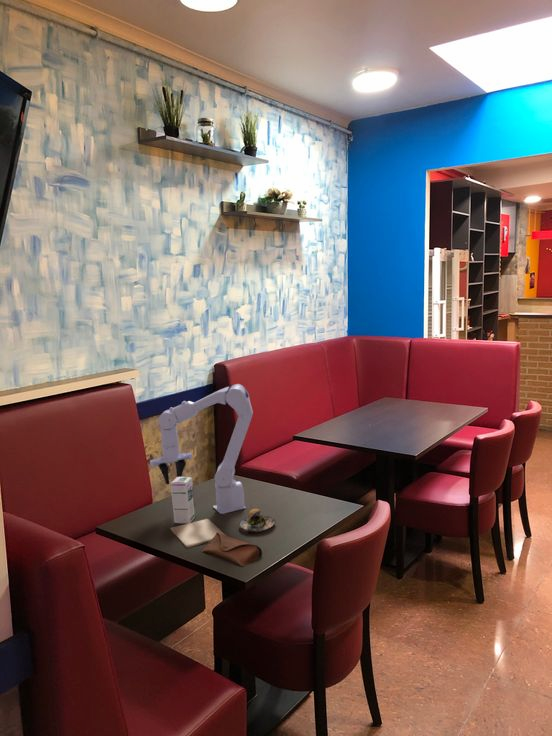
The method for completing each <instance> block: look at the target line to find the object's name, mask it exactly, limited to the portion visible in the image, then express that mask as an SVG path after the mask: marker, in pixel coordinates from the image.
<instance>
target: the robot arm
mask: <svg viewBox="0 0 552 736" xmlns="http://www.w3.org/2000/svg"><path fill="white" fill-rule="evenodd" d="M216 404H221V405H226V404H228V405H229V406H230V407H231V408H232V409H234V411H235V413H236V414H237V416H238V417H237V420H236V422H235V425H234V428H233V432H232V434H231V437H230V440H229V443H228V445H227V449H226V452H225V455H224V456H223V460H222V462H221V463H220V464H219V465H218V467H217V470H216V473H215V474H214V478H213V479H214V480H213V481H214V482H215V483H214V486H215V499H216V504H215V505H213V506H212V508H213V509H214V510H216V511H217V512H218V513H219V514H220V515H224V514H228V513H232V512H235V511H240V510H243V509H246V508H247V507H246V506H245V492H244V486H243V483H242V482H241V481H237V480H236V479H234V475H235V473H236V469H235V466H236V464H237V460H238V458H239V455H240V452H241V450H242V449H241V448H242V446H243V444H244V440H245V438H246V436H247V435H246V434H247V432H248V430H249V427H250V423H251V422H252V418H253V414H254V411H253V407H252V404H251V399H250V394H249V392H248V391H247V389H246V388H245V386H244V385H242V384H240V383H236V384H232V385H231V386H226V387H224V388H221V389H219V390H217V391H214V392H213V393H211V394H208V395H206V396H205V397H203V398H201V399H199V400H197V401H195V402H194V401H191V400H188V401H186V400H183V401H182V402H181V404H178V405H177V406H174V407H172V406H171V407H169V409H166V410H164V411H163V412H162V413H161V415H160V416H159V417H158V420H157V421H158V422H157V423H158V426H159V427H160V438H161V439H160V440H161V450H162V451H161V452H162V456H161V457H158V458H154V459H150V460H149V463H150V467H152V468H154V467H156V466H157V467H158V468H159V470H160V472H161V474H162V476H163V478H164V482H165V484H166V485H170V477H169V466H168V464H172V463H174V464H175V469H176V470H175V471H176V477H183V473H184V470H185V467H186V464H187V460H193V454H192V453H191V452H186V453H185V452H184V453H180V447H179V446H180V444H179V434H178V427H177V426H178V425H177V424H181V423H183V422H185V421H188V420H190V419H192V418H194V417H196V416H197V415H198V412H199V411H201V410H204V409H206V408H209V407H211V406H213V405H216Z"/></svg>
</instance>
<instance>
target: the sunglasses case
mask: <svg viewBox="0 0 552 736" xmlns="http://www.w3.org/2000/svg"><path fill="white" fill-rule="evenodd" d="M200 552H201V553H203V554H204V553H205V554H207V555H208V554H209V555H212V556H214V557H217V558H220V559H222V560H226V561H229V562H231V563H233V564H235V565H238V566H240V567H245V566H246V565H248V564H250V563H252V562H253V561H255V560H257V559H258V558H260V557H262V556H263V551H262V549H261V547H260V546H258V545H257V544H253V543H252V544H251V543H249V542H245V541H242V540H240V539H237V538H234V537H231V536H228V535H226V536H224V535H222V534H219V533H216V535H215V536H214V537H213V539H212V540H211V541H210V542H207V544H206V546H205V547H204V548H203V550H200Z"/></svg>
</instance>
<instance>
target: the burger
mask: <svg viewBox="0 0 552 736" xmlns="http://www.w3.org/2000/svg"><path fill="white" fill-rule="evenodd" d="M250 506H251V510H249V512H248V513H247V514H248V515H247V517H245V518H242V519H241V520H240V521H239V522H238V523H239V524H238V526H239V528H238V529H239V532H240V533H242V534H245V535H249V532H255V533H256V532H257V533H259V532H263V531H266V530H269V529H270V528H272V527H273V526H274V525H275V524H276V519H275V518H272V517H270V516H266V515H262V514H260V513H261V510H260V509H259V508H253V507H252V505H250Z"/></svg>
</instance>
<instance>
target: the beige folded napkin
mask: <svg viewBox="0 0 552 736" xmlns="http://www.w3.org/2000/svg"><path fill="white" fill-rule="evenodd" d="M170 531H171V532H172V533H173V534H174V535H175V536H176V538H177V539H179V541H180V542H181V543H182V544H183V545H184V547H186V548H187V549H189V548H192V547H197V546H198V545H199V546H200V545H203V544H208V543H209V542H210V541H211V540H212V539H213V537H214V536H215V535H216V533H219V534H222V535H224V536H227V534H225V533H224V532H222V530H221V529H220V528H218V527H217V526H216V525H215V524H214V523H213V521H212V520H210V519H209V518H205V519H201V520H198V521H192V522H191V523H189V524H182V525H181V524H180V525H177V526H174V527H173V526H172V527H170Z"/></svg>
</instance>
